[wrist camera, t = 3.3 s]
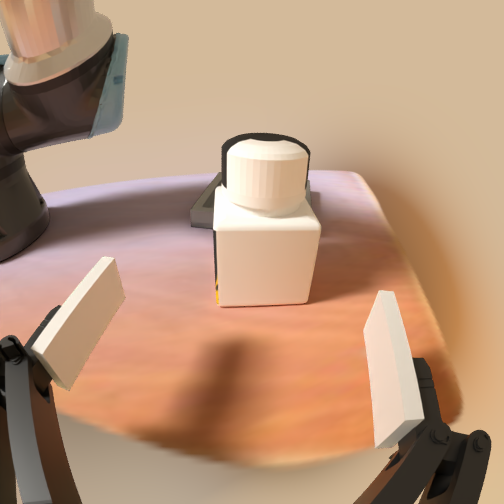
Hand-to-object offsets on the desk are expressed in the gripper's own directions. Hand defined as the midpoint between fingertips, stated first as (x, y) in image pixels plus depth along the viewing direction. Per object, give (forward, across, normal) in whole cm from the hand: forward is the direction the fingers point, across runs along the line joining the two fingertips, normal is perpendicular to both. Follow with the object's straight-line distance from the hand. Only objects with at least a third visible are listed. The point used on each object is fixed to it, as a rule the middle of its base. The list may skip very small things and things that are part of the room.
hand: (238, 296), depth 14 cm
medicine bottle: (+10, 0, -7) cm, 12 cm away
